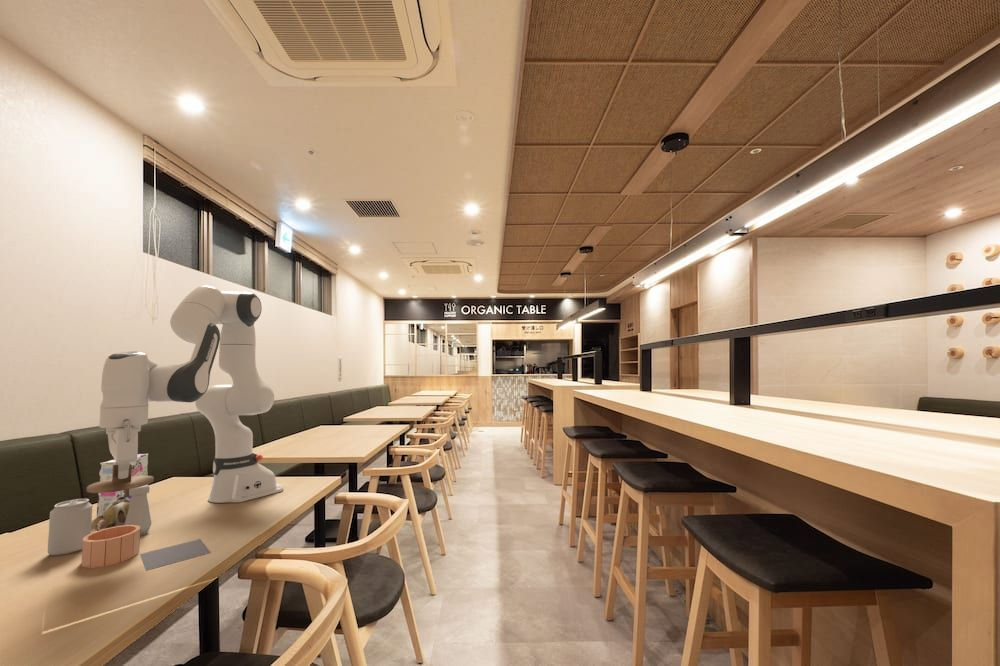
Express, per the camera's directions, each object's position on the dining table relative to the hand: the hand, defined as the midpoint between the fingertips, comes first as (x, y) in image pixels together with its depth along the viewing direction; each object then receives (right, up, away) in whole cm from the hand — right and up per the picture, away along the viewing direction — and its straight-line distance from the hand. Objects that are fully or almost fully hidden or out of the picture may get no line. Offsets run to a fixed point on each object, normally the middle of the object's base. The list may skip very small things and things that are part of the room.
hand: (121, 476), depth 102 cm
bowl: (-1, -19, -2) cm, 19 cm away
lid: (0, -2, 0) cm, 2 cm away
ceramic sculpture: (-17, -21, +19) cm, 33 cm away
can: (-16, -20, +3) cm, 26 cm away
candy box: (-30, -23, +34) cm, 51 cm away
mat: (+13, -19, 0) cm, 23 cm away
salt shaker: (-8, -21, +13) cm, 26 cm away
